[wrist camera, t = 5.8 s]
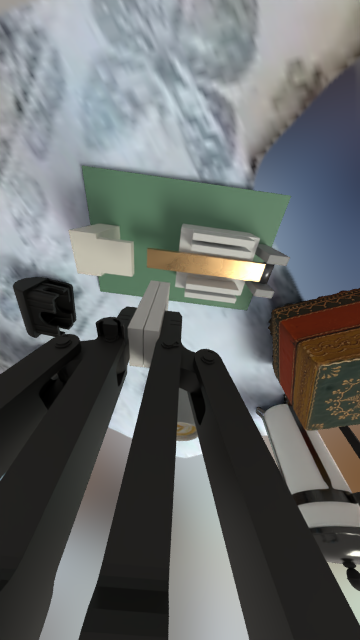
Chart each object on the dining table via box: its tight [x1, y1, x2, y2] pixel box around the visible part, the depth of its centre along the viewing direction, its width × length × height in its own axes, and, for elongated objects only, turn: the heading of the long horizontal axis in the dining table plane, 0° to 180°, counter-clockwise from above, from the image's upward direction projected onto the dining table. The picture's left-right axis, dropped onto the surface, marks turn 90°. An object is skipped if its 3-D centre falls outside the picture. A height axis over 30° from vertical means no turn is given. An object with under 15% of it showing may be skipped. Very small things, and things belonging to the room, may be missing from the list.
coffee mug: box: [176, 388, 198, 441], centre depth 48 cm, size 13×10×10 cm
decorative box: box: [268, 288, 360, 431], centre depth 30 cm, size 20×22×16 cm
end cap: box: [13, 277, 76, 338], centre depth 33 cm, size 10×7×7 cm
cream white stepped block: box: [69, 223, 134, 277], centre depth 24 cm, size 7×5×8 cm
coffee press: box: [256, 395, 360, 591], centre depth 40 cm, size 17×16×30 cm
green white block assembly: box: [82, 166, 291, 310], centre depth 25 cm, size 28×18×9 cm, turn 83°
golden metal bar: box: [147, 248, 275, 284], centre depth 23 cm, size 17×3×1 cm, turn 83°
